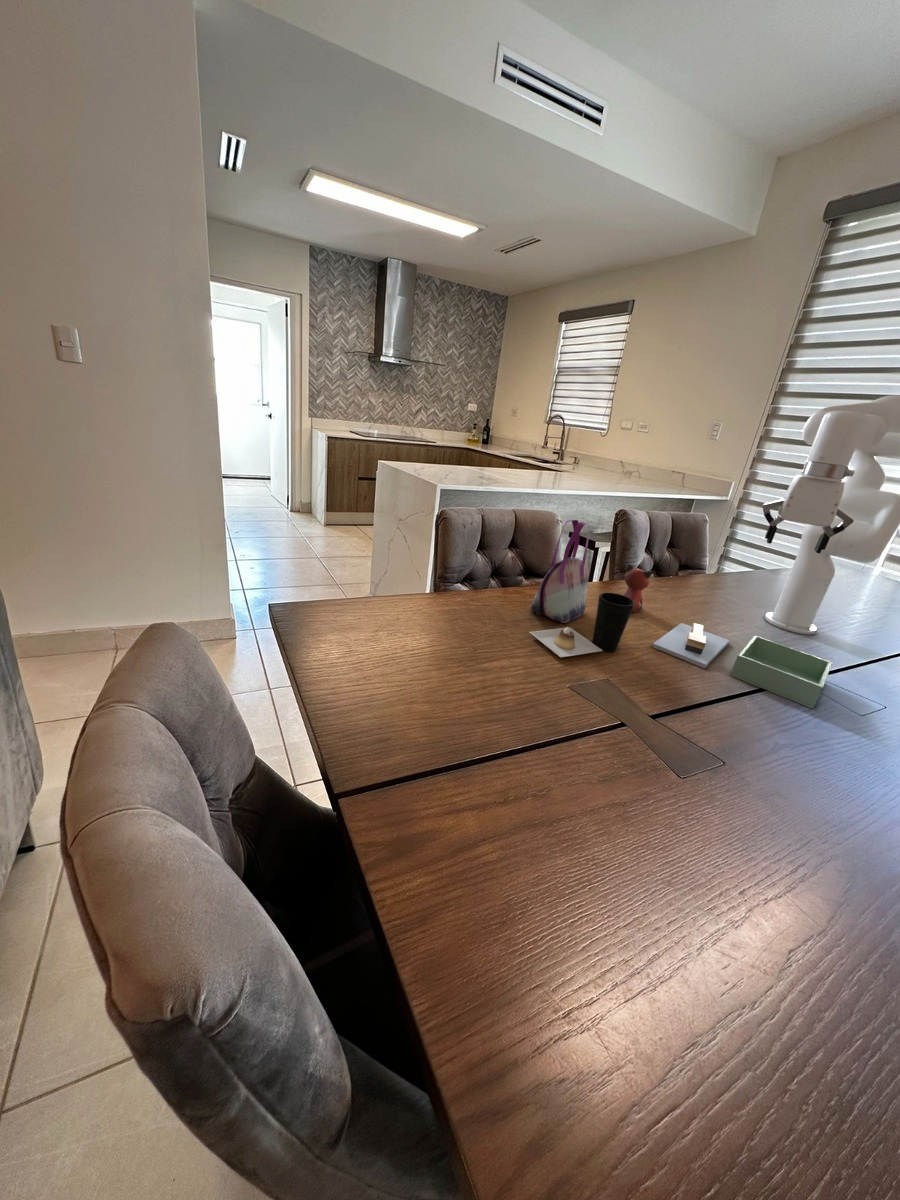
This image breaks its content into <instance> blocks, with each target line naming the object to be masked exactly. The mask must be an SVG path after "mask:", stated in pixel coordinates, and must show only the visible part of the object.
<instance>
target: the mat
mask: <svg viewBox="0 0 900 1200" xmlns="http://www.w3.org/2000/svg"><path fill="white" fill-rule="evenodd" d="M692 627H693V626H691V625H688V624H686V623H683V622H680V623H679V624H678V625H676V626H674V627H673V628H672V629H671V630H670V631H668V632H667V633H665V634H664V635H662V636H661V637H659V638H658V639H657V640H656V641H655V642H653V643H652V645H651V648H653V649H656V650H659V651H661V652H663V653H665V654H669V655H670V656H673V657H676V658H678V659H680V660H683V661H685V662H688V663H690V664H692V665H695V666H697V667H700V668H702V669H705V668H706V667H708V666H709V665H710V663H712V661H713V660H714V659H715V658H716V657H717V656H718V655H719V654H720V653H721V652H722V651H723V650H724V649H725V648H726V647H727V646H728V645H729V643H730V641H731V640H729V639H727V638H724V637H721V636H719V635H716V634H713V633H710V632H707V631H705V630H703V636H706V645H705V647H704V649H703V652H702V654H697V653H694V652H691V651H687V650H685V645H686V641H687V636H688V633H689V632H691V630H692Z"/></svg>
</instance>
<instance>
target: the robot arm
mask: <svg viewBox="0 0 900 1200" xmlns="http://www.w3.org/2000/svg"><path fill="white" fill-rule="evenodd" d="M802 439H803V441H804V443H805V444H807V445H809V446H811V448H810V450H809V453H808V456H806V457H807V458H806V460H805V463H804V466H803V468H802V470H801V473H800V474H796V475H795V476H794V477H793V479H792V481H791V482H790V484H789V486H788V488H787V490H786V492H785V494H784V497H783V498H782V499H779V500H774V501H770V502H765V503H763V504H762V505H761V506H762V512H763V517H764V518H765V519H766V522H768V524H769V525H768V528H767V530H766V532H765V536H764V539H765V540H766V543H767V544H770V545H771V544H772V542H773V540H774V538H775V535H776V533H777V530H778V527H777V525H778V524H779V525H780V524H781V523H782V522H784V521H788V522H792V523H793V522H794V523H799V524H804V527H803V531H802V535H801V539H800V544H799V548H798V551H797V554H796V557H795V559H794V562H793V565H792V567H791V570H790V572H789V574H788V577H787V579H786V582H785V584H784V585H783V589H782V591H781V593H780V596H779V598H778V601H777V602H776V604H775V608H774V611H772V612H771V611H770V612H767V613H766V614H765V615H764V619H765V620H766V622H768V623H769V624H771V625H773V626H775V627H777V628H779V629H782V630H785V631H788V632H792V633H796V634H802V635H814V634H815V633H816V632H817V630H818V628H817V626H816V625H815V624H813V623H814V621H815V619H816V616H817V614H818V612H819V609H820V607H821V605H822V603H823V601H824V599H825V597H826V594H827V592H828V590H829V588H830V585H831V583H832V582H833V579H834V577H835V573H836V567H835V564H834V561H833V559H832V557H838V558H841V559H845V560H849V561H853V562H858V563H861V564H869V563H874V561H876V560H878V558H879V557H880V556H881V555H882V553H883V552H884V550H885V549H886V547H887V545H888V544H889V543H890V541H891V539H892V538H893V536H894V534H895V533H896V531H897V529H898V528H899V526H900V493H899V492H894V491H889V490H883V489H882V487H883V486H884V484H885V482H886V480H887V475H886V471H885V469H884V468H883V465H881V463H880V462H879V461H878V459H876V457H879V458H886V459H887V458H888V459H893V460H900V395H897V394H895V395H885V396H881V397H879V398H877V399H874V400H872V401H869V402H861V403H860V402H859V403H851V404H842V405H832V406H827V407H824V408H821V409H819V410H817V411H816V412H814V413H813V414H812V415H810V417H809V418H808V419H807V421H806V422H805V424H804V426H803V428H802ZM778 507H779V508H778ZM775 508H778V511H777V515H776V516H774V517H773V515H772V514H771V509H775Z"/></svg>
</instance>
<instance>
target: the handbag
mask: <svg viewBox="0 0 900 1200" xmlns="http://www.w3.org/2000/svg"><path fill="white" fill-rule="evenodd" d="M570 522H571V523H572V528H573V531H572V533H571V535H570V537H569V540H568V542H567V544H566V546H565V549H564V553H563V558H562V560H560V561H558V562H556V560H557V555H558V550H559V547H560V543H561V537H562V534H563V531H561V532H560V534H559V537H558V540H557V543H556V545H555V549H554V552H553V556H552V559H551V564H550V568H549V570H548V571H547V573H545V576H544V577H543V579H542V581H541V582H540V584H539V587H538V589H537V591H536V593H535V596H534V598H533V601H532V603H531V611H532V612H533V613H536V616H537V617H539V615H542V616H545V617H547V618H549V619H551V620H554V621H555V622H558V623H562V624H564V623H569V622H571V621H573V620H575V619H578V618H580V617H582V616H583V615H584V613H585V611H586V605H587V596H588V595H587V594H588V583H589V569H588V564H587V563H586V559H587V555H588V554H587V553H588V547H589V538H590V532H588V534H587V538H586V542H585V547H584V551H583V557H582V559H580V558H578V557H577V552H578V548H579V545H580V538H581V537H580V535H581V531H582V529H583V528H584V527H585V526H587V527H588V528H590V526H589V525H588V523H587V522H585V521H580V522H579V520H578V519H571V520H570V519H569V520H567V521H566V522H565V523H564V525H563V527H562V529H564V528H565V527H566V526H567V524H569V523H570ZM573 544H574V545H573ZM572 546H573V550H572V557H569V553H570V551H571V548H572Z"/></svg>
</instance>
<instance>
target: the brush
mask: <svg viewBox="0 0 900 1200" xmlns="http://www.w3.org/2000/svg"><path fill="white" fill-rule="evenodd" d="M691 627H692V630H691V632H689V633H688V636H687V641H686V645H685V650H687V651H691V652H694V653H697V654H702V652H703V649H704V647H705V645H706V636H703V631H704V625H703V624H700V623H699V624H698V623H695V622H693V624H692V626H691Z"/></svg>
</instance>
